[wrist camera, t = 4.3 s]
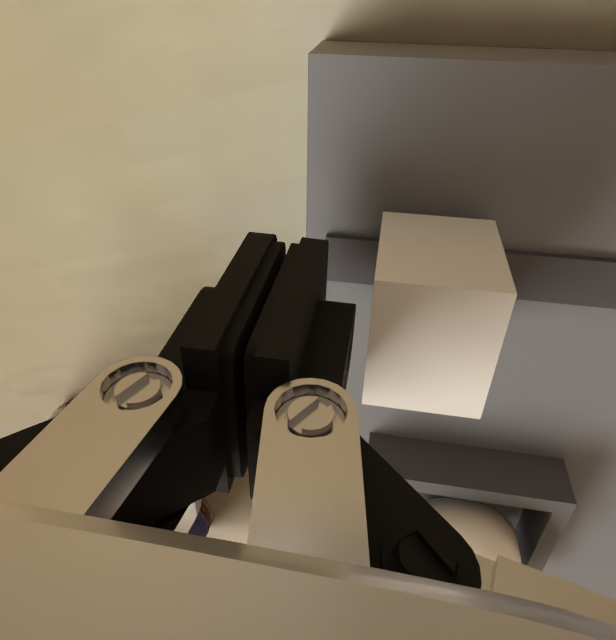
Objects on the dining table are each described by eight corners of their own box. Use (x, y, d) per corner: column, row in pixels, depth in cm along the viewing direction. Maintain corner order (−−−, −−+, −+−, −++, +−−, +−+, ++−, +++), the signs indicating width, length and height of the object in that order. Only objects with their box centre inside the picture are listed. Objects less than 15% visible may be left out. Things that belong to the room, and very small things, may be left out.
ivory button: (394, 489, 15) (392, 536, 14) (532, 509, 15) (542, 561, 14) (381, 560, 18) (379, 607, 16) (500, 580, 17) (507, 630, 16)
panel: (323, 40, 12) (293, 67, 9) (1217, 73, 10) (1562, 123, 7) (310, 508, 22) (295, 590, 19) (738, 575, 20) (793, 680, 17)
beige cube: (383, 211, 11) (374, 279, 9) (495, 220, 11) (517, 293, 9) (371, 321, 13) (361, 403, 11) (468, 332, 13) (480, 418, 10)
